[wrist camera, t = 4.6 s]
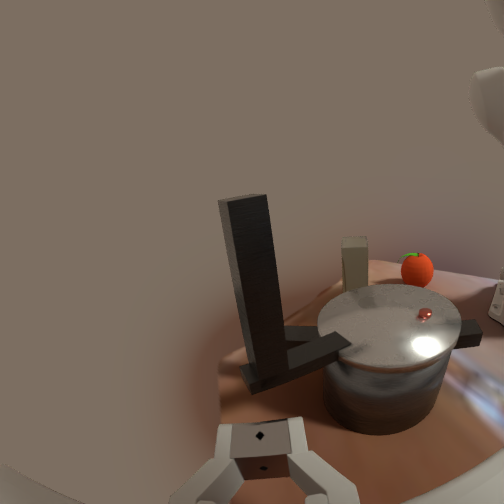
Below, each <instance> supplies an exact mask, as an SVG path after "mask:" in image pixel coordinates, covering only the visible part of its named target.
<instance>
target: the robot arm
mask: <svg viewBox="0 0 504 504" xmlns="http://www.w3.org/2000/svg"><path fill="white" fill-rule="evenodd" d="M484 1H485V4H486V6H487V9H488V11H489V14H490V17H491V20H492V22H493V24H494V26H495V27H496V29H497V30H498V31H499V33H500V34H501V35H502V36H503V37H504V0H484ZM469 101H470V105H471V108H472V111H473V113H474V115H475V117H476V119H477V120H478V122H479V123H480V125H481V126H482V127H483V128H484V129H485V130H486V131H487V132H488V133H489V134H491V135H492V136H493V137H494V138H495V139H496V140H497V141H498V142H499V143H500V144H501V145H502V146H503V148H504V67H495V68H490V69H485V70H482V71H478V72H475V73H474V74H473V76H472V78H471V81H470V85H469ZM488 315H489V316H490V317H491V318H493V319H495V320H497V321H499V322H500V323H501V324H502V325H503V326H504V267H502V268H501V274H500V280H499V281H498V284H497V288H496V291H495V294H494V297H493V300H492V303H491V306H490V309H489V312H488ZM281 477H290V478H291V479H292V480H293V481H294V482H295V483H296V484H297V485H298V486H299V487H300V488H301V489H302V490H303V491H304V493H305V494H306V495H307V496H308V497H307V498H306V499H305V504H360V501H359V497H358V493H357V489H356V485H355V484H353V483H352V482H351V481H349V480H348V479H347V478H345V477H344V476H343V475H341V474H340V473H339V472H338V471H336V470H335V469H334V468H333V467H331V466H330V465H329V464H328V463H326V462H325V461H324V460H323V459H322V458H320V457H319V456H318V455H317V454H316V453H314V452H313V451H308V448H307V442H306V436H305V430H304V424H303V418H302V416H301V417H295V418H288V419H287V418H286V419H279V420H271V421H263V422H257V423H238V424H220V425H219V427H218V431H217V439H216V446H215V454H214V459H209V460H208V461H207V462H206V463H205V464H204V465H203V466H202V467H201V468H200V469H199V470H198V471H197V472H196V473H195V474H194V475H193V476H192V477H191V478H190V479H189V480H188V481H187V482H186V483H184V485H182V486H181V487H180V488H179V489H178V490H177V491H176V492H175V493H174V494H173V495H171V496H170V500H169V504H228V502H229V501H230V500H231V499H232V497H233V496H234V495H235V493H236V492H237V491H238V489H239V488H240V487H241V485H242V484H243V483H244V480H256V479H267V478H281ZM0 504H84V503H81V502H79V501H77V500H74V499H72V498H69V497H67V496H64V495H62V494H60V493H58V492H56V491H54V490H51V489H49V488H47V487H45V486H43V485H41V484H39V483H37V482H36V481H34V480H32V479H30V478H28V477H26V476H25V475H23V474H21V473H20V472H18V471H16V470H15V469H13V468H11V467H10V466H8V465H6V464H0ZM400 504H504V447H503V448H502V449H501V450H499V451H498V452H496V453H495V454H494V455H492V456H491V457H489V458H488V459H486V460H485V461H483V462H482V463H480V464H478V465H477V466H475V467H474V468H472V469H470V470H469V471H467V472H465V473H464V474H462V475H460V476H458V477H456V478H455V479H453V480H451V481H449V482H447V483H445V484H443V485H441V486H439V487H437V488H435V489H433V490H431V491H429V492H426V493H424V494H422V495H420V496H417V497H415V498H413V499H410V500H408V501H405V502H403V503H400Z"/></svg>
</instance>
